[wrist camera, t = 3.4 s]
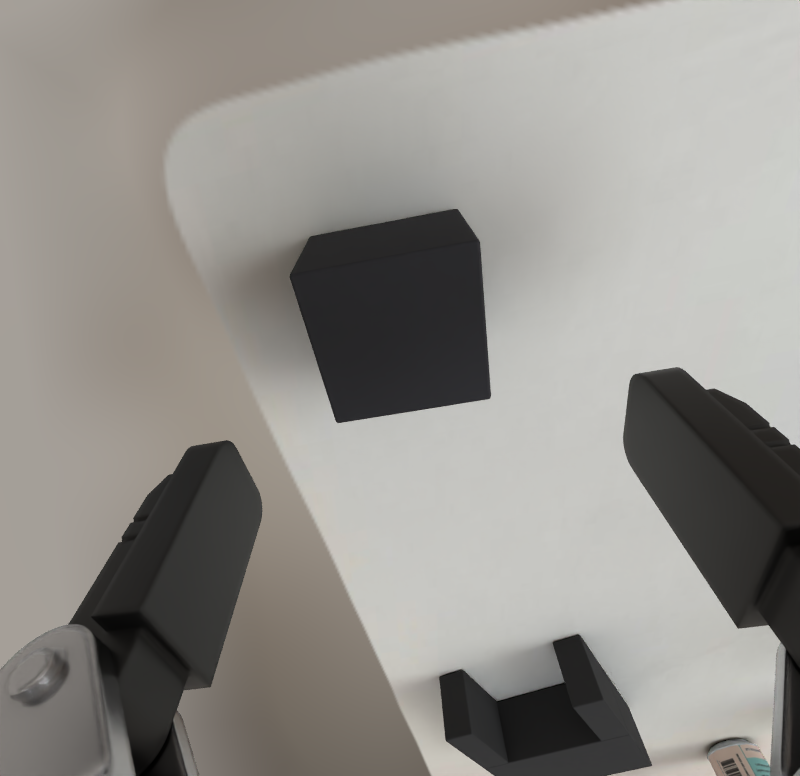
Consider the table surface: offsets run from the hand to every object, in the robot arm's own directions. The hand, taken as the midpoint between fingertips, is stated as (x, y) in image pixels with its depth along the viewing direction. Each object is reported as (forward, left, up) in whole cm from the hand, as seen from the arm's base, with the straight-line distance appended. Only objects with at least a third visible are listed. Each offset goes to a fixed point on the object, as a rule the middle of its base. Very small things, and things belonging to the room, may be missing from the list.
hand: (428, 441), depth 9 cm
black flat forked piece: (+17, -32, -9) cm, 37 cm away
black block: (0, 0, -9) cm, 9 cm away
